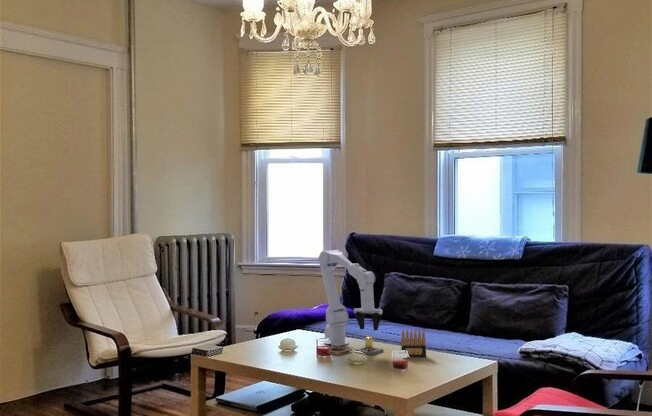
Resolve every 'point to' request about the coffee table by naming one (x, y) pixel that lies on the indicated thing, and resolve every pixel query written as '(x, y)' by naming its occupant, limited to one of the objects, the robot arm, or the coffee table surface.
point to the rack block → (341, 351)
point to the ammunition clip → (415, 349)
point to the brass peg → (368, 344)
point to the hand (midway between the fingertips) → (369, 329)
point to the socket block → (375, 351)
